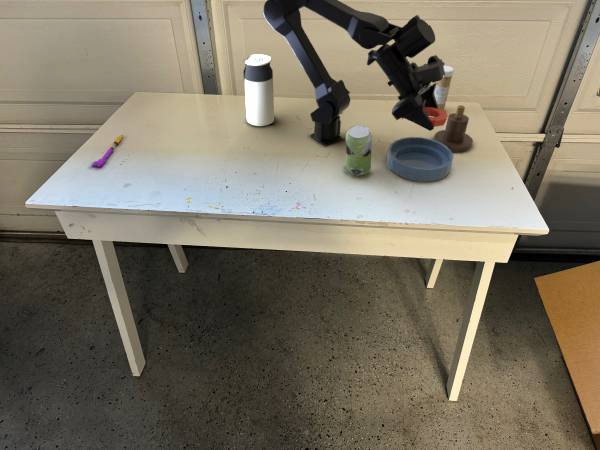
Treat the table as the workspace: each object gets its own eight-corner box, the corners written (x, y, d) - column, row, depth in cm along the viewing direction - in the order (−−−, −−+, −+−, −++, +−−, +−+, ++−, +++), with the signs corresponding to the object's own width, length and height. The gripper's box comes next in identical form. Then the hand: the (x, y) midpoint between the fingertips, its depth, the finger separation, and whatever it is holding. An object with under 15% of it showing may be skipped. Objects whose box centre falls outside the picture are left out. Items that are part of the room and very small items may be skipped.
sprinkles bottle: (435, 107, 139) (444, 63, 130) (447, 112, 136) (457, 68, 127) (425, 111, 136) (434, 67, 128) (437, 116, 134) (447, 72, 125)
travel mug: (249, 128, 127) (244, 65, 116) (245, 116, 133) (240, 55, 122) (276, 125, 129) (274, 62, 117) (271, 113, 135) (269, 52, 123)
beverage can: (373, 167, 112) (378, 124, 104) (363, 183, 106) (369, 138, 99) (349, 162, 114) (353, 118, 106) (339, 176, 108) (342, 132, 101)
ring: (412, 122, 104) (413, 116, 103) (420, 111, 109) (421, 104, 108) (441, 129, 102) (443, 122, 101) (448, 117, 106) (449, 110, 105)
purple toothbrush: (101, 167, 110) (125, 137, 123) (99, 163, 110) (123, 133, 122) (92, 169, 111) (116, 138, 123) (89, 165, 110) (114, 134, 122)
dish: (417, 190, 104) (420, 176, 102) (373, 160, 114) (375, 147, 112) (463, 170, 111) (466, 157, 108) (417, 144, 121) (420, 131, 118)
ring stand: (453, 156, 116) (463, 119, 109) (425, 140, 122) (433, 104, 116) (479, 145, 120) (490, 109, 114) (450, 131, 127) (459, 95, 120)
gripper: (415, 61, 90) (458, 122, 93) (437, 35, 103) (473, 90, 106) (373, 91, 97) (414, 147, 101) (398, 63, 110) (434, 114, 114)
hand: (435, 123), depth 105 cm, fingers closed on ring, 7 cm apart
